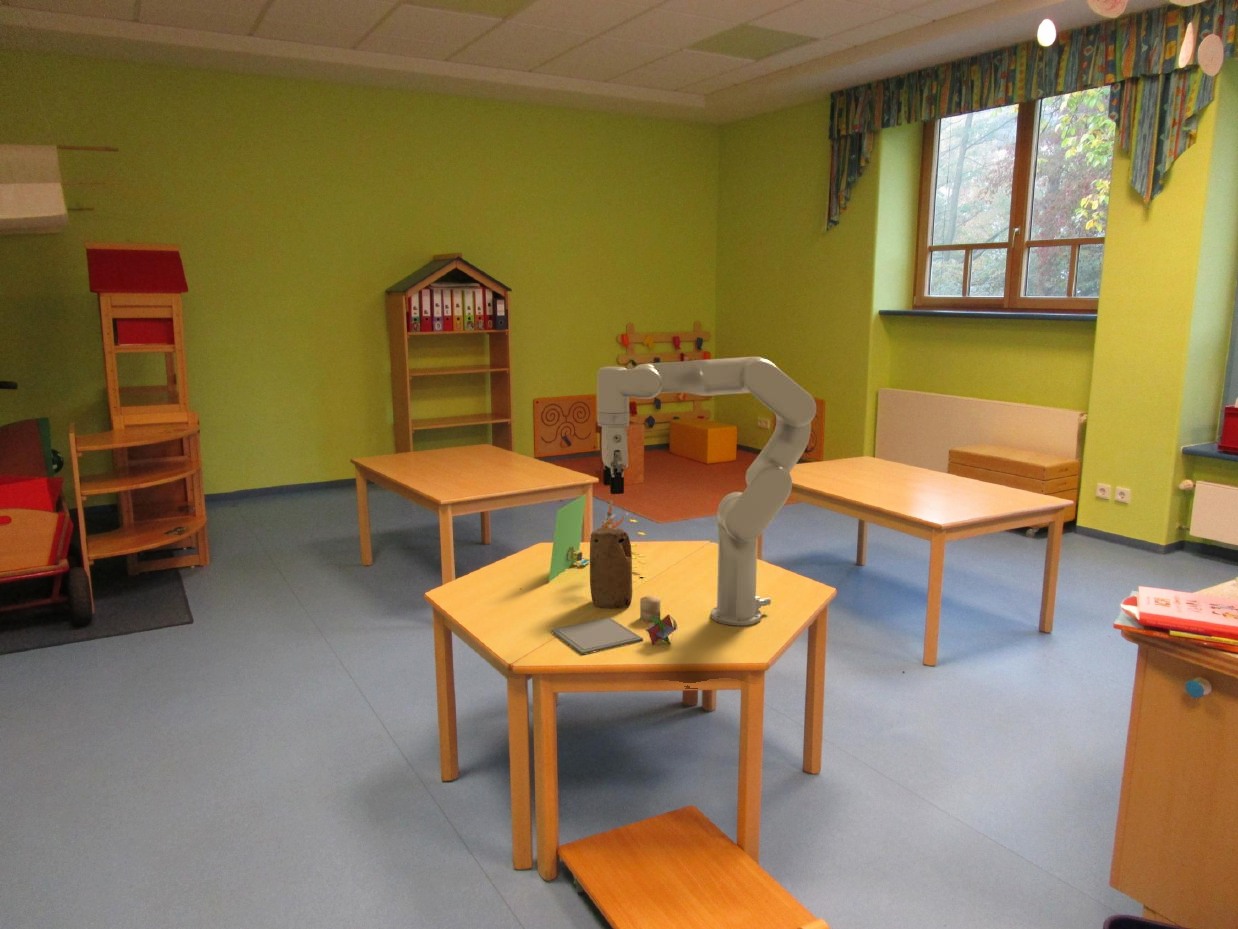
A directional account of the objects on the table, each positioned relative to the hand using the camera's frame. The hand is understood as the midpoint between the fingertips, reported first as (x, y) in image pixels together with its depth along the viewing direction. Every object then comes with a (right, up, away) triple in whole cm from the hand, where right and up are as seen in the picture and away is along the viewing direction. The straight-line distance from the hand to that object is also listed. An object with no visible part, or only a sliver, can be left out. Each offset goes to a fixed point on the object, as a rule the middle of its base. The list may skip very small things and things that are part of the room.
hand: (613, 489), depth 212 cm
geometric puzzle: (+11, -36, -8) cm, 38 cm away
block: (-1, -31, +17) cm, 35 cm away
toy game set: (-3, -26, +40) cm, 48 cm away
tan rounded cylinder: (+9, -32, +6) cm, 34 cm away
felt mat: (-4, -35, -5) cm, 35 cm away
